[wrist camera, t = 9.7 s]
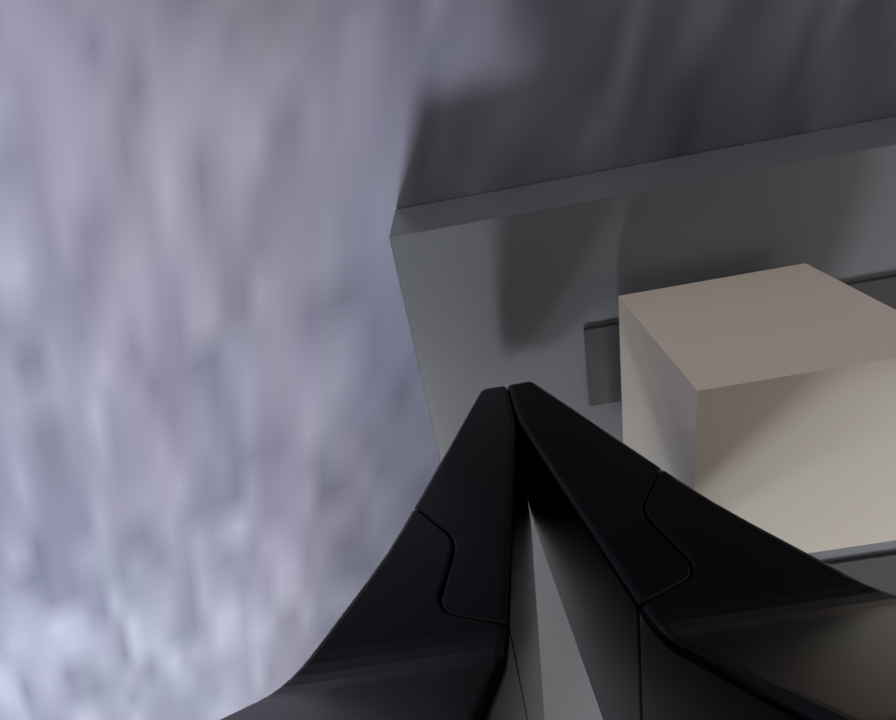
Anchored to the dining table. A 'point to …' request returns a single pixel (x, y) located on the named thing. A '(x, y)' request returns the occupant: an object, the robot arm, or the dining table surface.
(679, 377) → the tab
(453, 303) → the switch panel
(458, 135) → the dining table surface
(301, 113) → the dining table surface
